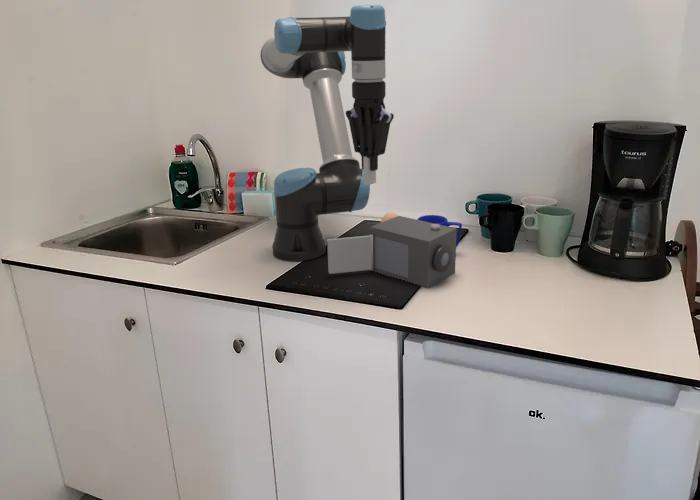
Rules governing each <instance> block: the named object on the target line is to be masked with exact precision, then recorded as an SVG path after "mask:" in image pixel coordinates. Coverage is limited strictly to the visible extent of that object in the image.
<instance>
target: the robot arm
mask: <svg viewBox="0 0 700 500" xmlns="http://www.w3.org/2000/svg"><path fill="white" fill-rule="evenodd" d="M386 26H387V22H386V10H385V8H384V6H383V5H380V4H379V5H378V4H365V5H353V6H352V7H351V9H350V15H349V16H325V17H323V16H322V17H293V16H289V17H283V18H278V19H277V20H275V23H274V30H273V32H274V33H273V34H274V36H273V37H270V38H269V39H268V40H266V41H265V42H264V43H263V45H262V47H261V50H260V53H259V54H260V61H261V65H263V67H264V68H265V69H266V71H268V73H270V74H272V75H274V76H276V77H279V78H283V79H302V82H303V83H302V84H303V86H304V87H305V88H307V89H309V93H310V98H311V103H312V104H311V105H312V110H313V115H314V119H315V126H316V130H317V136H318V142H319V149H320V152H321V159H322V163H321V165H320V166H319V167H318V172H317V170H316V169H315V168H312V167H298V168H293V169H288V170H286V171H283V172H281V173H279V174H278V175H276V177H275V178H274V181H273V195H274V202H275V205H274V206H275V215H276V216H275V217H276V218H275V220H276V231H275V234H274V241H273V242H272V243H273V244H272V245H271V246H272V249H271V250H272V255H273V257H274V258H276V259H279V260H281V261H287V262H302V261H303V262H304V261H309V260H313V259H317V258H319V257H321V256H323V255H324V254H326V251H327V250H326V249H327V247H326V246H327V245H326V241H325V239H324V236H323V234H322V230H321V229H320V228H321V227H320V226H319V216H322V215H330V214H339V213H353V212H355V211H356V212H357V211H360V210H363V209H364V208H365V207H367V205H368V203H369V199H370V194H371V193H370V191H371V185H372V184H376V183H377V171H378V167H379V165H378V163H379V162H378V160H379V158H378V157H379V156H382V155H384V154H385V153H386V148H387V144H388V139H389V133H390V127H391V124H392V122H393V119H394V118H395V117H394V113H392V112H391V113H389V112H388V111H387V110H386V104H385V103H384V99H385V98H386V81H384V79H385V78H386V72H387V71H386V70H387V69H386ZM345 52H350V54H351V79H352V80H354V81H353V82H352V83H351V95H352V96H351V97H352V99H354V102H353V105H352V108H351V109H349V110H346V111H345V112H344V105H343V102H342V97H341V92H340V88H339V84H340V82H341V81H342V78H343V76H344V75H345V74H346V73H345V72H346V69H347V66H346V65H347V64H346V63H347V62H346V54H345ZM346 117H347V120H348V123H349V128H350V133H351V138H352V139H351V140H352V144H353V149H354V153H359V155H360V156H361V165H360V162H359V160H358V159H356V158H355V157H353V152H352V147H351V141H350V138H349V131H348V127H347V122H346Z"/></svg>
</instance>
